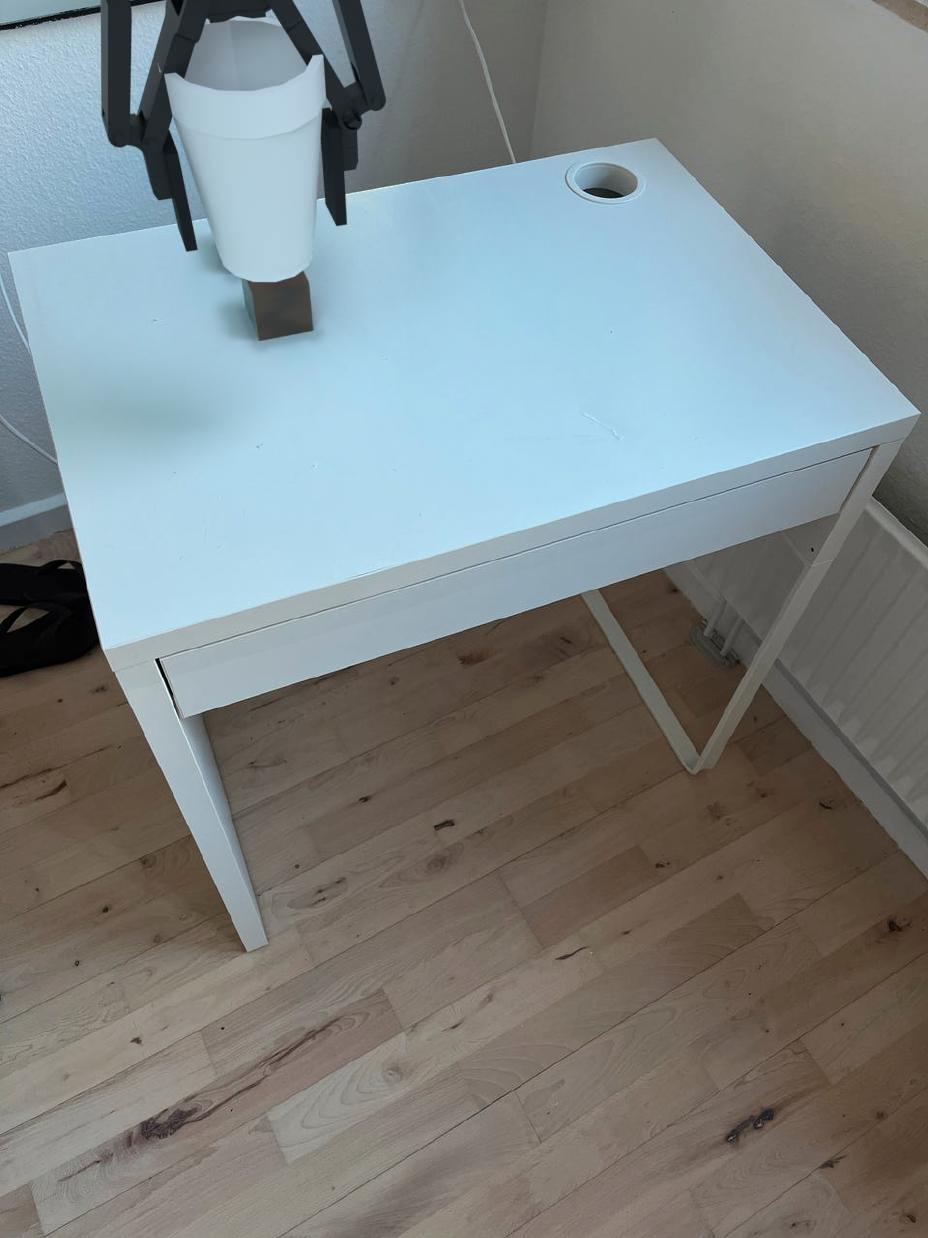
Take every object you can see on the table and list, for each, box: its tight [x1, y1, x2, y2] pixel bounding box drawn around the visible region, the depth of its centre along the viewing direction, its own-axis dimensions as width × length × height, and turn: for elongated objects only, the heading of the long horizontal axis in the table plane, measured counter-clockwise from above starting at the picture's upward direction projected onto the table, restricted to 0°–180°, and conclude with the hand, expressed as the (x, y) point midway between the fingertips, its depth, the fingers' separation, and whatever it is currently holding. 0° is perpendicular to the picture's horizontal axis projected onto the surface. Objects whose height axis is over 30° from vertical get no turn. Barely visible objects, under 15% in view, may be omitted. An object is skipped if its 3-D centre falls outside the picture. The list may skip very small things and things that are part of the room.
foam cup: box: [158, 16, 327, 282], centre depth 59 cm, size 10×9×13 cm
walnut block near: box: [240, 270, 314, 341], centre depth 83 cm, size 5×5×5 cm
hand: (263, 226), depth 63 cm, fingers closed on foam cup, 9 cm apart
